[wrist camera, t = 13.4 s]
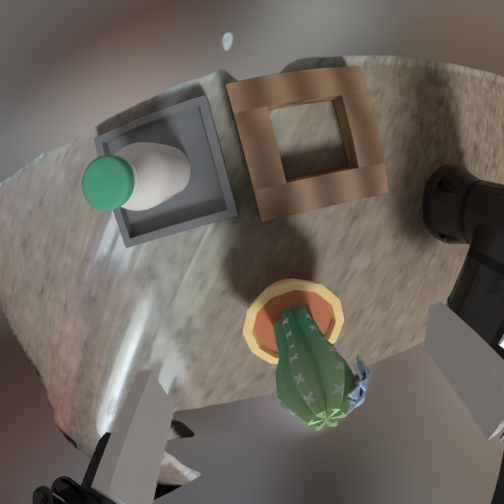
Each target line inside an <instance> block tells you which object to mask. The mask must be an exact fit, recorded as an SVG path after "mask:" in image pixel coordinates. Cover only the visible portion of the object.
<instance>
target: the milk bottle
mask: <svg viewBox="0 0 504 504" xmlns="http://www.w3.org/2000/svg"><path fill="white" fill-rule="evenodd" d="M190 175H191V166H190V162H189V160H188V158H187V156H186V155H185V154H184V153H183V152H182V151H181V150H179V149H178V148H175V147H172V146H168V145H163V144H157V143H150V142H138V143H133V144H130V145H127V146H125V147H123V148H122V149H120V150H119V151H118V152H117V153H115V155H104V156H100V157H98V158H96V159H95V160H93V161H92V162H91V163H90V164H89V165H88V167H87V168H86V170H85V172H84V175H83V180H82V189H83V193H84V196H85V198H86V200H87V202H88V203H89V204H90V205H91V206H92V207H93V208H95V209H97V210H100V211H111V210H114V209H117V208H119V207H122V208H125V209H128V210H134V211H141V210H147V209H150V208H153V207H155V206H157V205H159V204H161V203H163V202H165V201H167V200H168V199H170V198H172V197H174V196H176V195H177V194H179V193H180V192H181V191H182V190H183V189H184V188H185V187H186V186H187V184H188V182H189V179H190Z"/></svg>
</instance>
